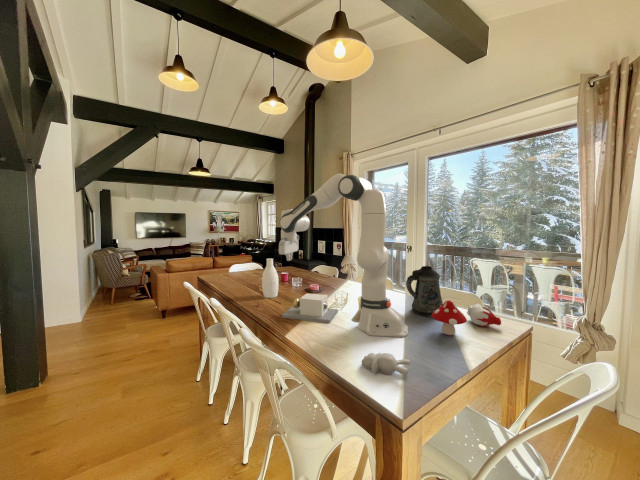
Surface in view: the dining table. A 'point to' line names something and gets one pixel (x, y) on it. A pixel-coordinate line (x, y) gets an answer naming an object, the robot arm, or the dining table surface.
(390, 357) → the bunny figurine
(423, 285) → the beer stein
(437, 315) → the decorative mushroom
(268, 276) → the bottle
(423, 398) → the dining table surface
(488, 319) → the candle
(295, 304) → the shaft
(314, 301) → the bearing block
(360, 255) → the robot arm
